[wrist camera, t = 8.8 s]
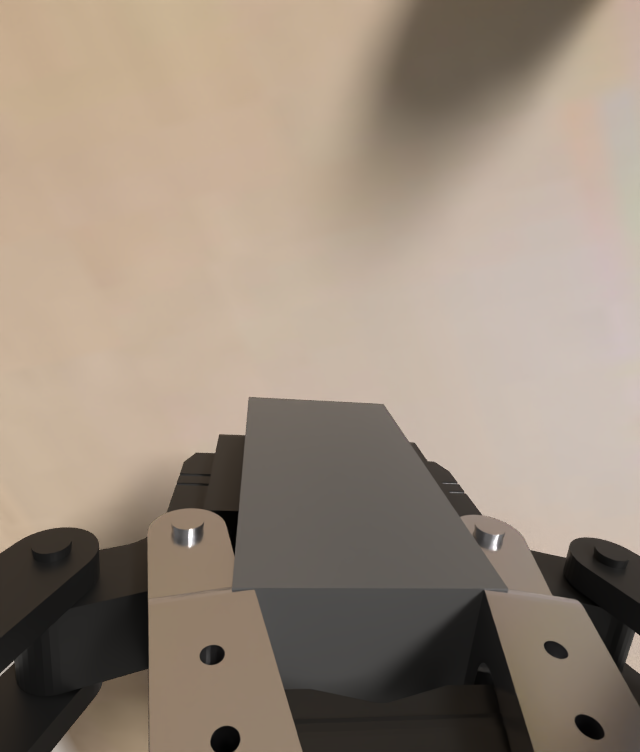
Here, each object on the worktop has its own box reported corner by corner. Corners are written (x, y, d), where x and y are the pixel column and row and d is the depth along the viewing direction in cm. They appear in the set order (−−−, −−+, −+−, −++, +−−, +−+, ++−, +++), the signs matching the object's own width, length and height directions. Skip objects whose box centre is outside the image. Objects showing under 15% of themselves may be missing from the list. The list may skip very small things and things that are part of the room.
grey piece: (189, 741, 16) (134, 1125, 9) (198, 394, 12) (122, 588, 6) (376, 734, 16) (453, 1083, 10) (429, 406, 13) (597, 588, 7)
